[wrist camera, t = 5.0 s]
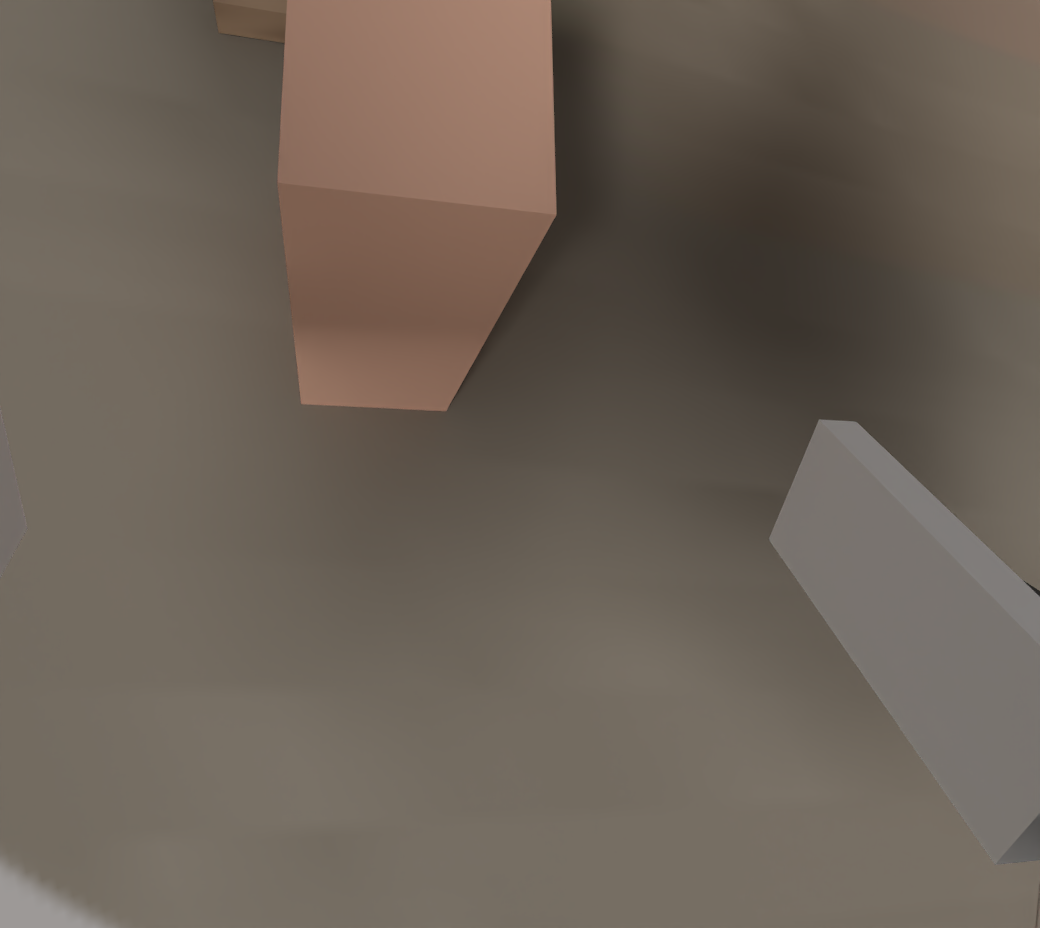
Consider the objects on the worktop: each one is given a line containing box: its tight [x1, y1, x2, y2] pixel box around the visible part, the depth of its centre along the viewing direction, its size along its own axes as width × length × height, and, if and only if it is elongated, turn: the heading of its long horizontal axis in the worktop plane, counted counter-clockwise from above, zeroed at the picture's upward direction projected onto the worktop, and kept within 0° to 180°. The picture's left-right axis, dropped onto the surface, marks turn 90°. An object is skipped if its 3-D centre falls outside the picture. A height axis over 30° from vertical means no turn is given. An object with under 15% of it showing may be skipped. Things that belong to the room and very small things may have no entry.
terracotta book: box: [277, 0, 557, 411], centre depth 21 cm, size 5×8×14 cm, turn 1°
